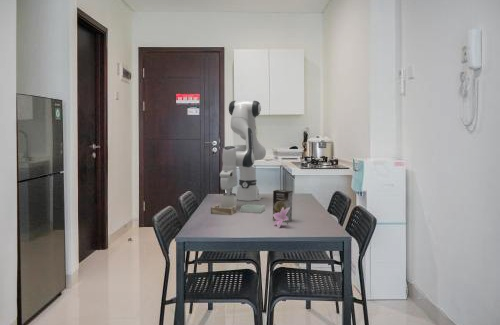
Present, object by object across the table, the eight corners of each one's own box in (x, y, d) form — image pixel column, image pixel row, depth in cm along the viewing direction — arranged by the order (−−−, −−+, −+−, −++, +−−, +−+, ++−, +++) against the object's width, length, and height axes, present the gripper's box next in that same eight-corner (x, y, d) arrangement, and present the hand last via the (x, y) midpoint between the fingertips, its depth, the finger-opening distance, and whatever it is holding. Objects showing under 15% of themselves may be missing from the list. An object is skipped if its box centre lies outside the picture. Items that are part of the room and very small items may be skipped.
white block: (224, 206, 261) (224, 192, 260) (236, 206, 258) (236, 192, 258) (221, 207, 256) (221, 193, 255) (234, 208, 253) (234, 194, 253)
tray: (245, 209, 259) (245, 204, 259) (264, 210, 256) (264, 205, 256) (240, 211, 250) (240, 207, 250) (260, 213, 246) (260, 208, 246)
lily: (273, 224, 220) (267, 210, 216) (294, 216, 219) (288, 201, 215) (276, 237, 209) (269, 221, 205) (298, 228, 208) (292, 212, 204)
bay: (217, 210, 254) (217, 204, 254) (236, 211, 250) (236, 205, 250) (210, 213, 245) (210, 207, 244) (230, 214, 241) (230, 208, 241)
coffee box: (272, 220, 226) (272, 190, 225) (277, 218, 232) (277, 189, 231) (287, 221, 222) (288, 191, 221) (292, 219, 228) (292, 190, 226)
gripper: (230, 171, 266) (230, 192, 267) (218, 174, 247) (218, 197, 248) (239, 171, 264) (239, 192, 265) (228, 174, 245) (228, 197, 246)
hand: (229, 195), depth 256 cm, fingers closed on white block
